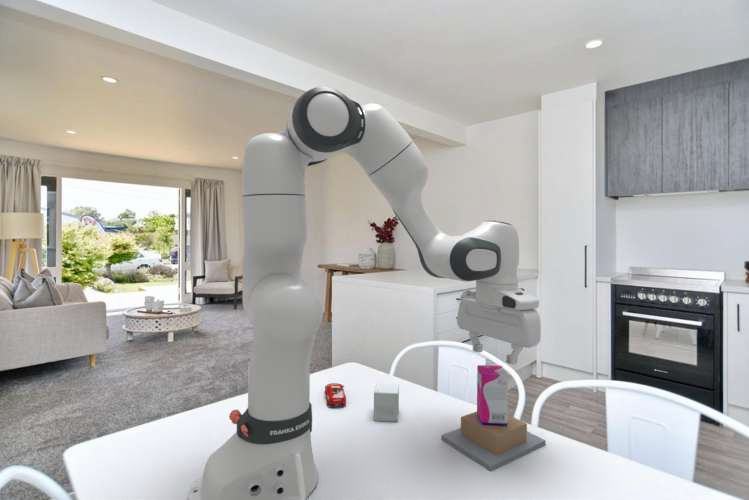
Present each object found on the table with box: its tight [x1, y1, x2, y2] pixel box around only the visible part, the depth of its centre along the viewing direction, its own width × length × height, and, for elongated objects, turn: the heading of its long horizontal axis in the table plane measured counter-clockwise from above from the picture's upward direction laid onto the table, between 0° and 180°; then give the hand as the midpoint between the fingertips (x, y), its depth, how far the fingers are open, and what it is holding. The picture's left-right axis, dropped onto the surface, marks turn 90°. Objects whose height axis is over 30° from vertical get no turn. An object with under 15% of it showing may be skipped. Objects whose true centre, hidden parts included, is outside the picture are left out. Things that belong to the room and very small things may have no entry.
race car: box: [324, 382, 347, 408], centre depth 110 cm, size 13×5×4 cm, turn 10°
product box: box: [373, 383, 400, 423], centre depth 99 cm, size 6×6×7 cm
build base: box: [440, 410, 547, 472], centre depth 87 cm, size 18×14×5 cm
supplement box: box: [476, 364, 509, 426], centre depth 87 cm, size 6×6×12 cm
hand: (493, 357), depth 87 cm, fingers open, 8 cm apart
